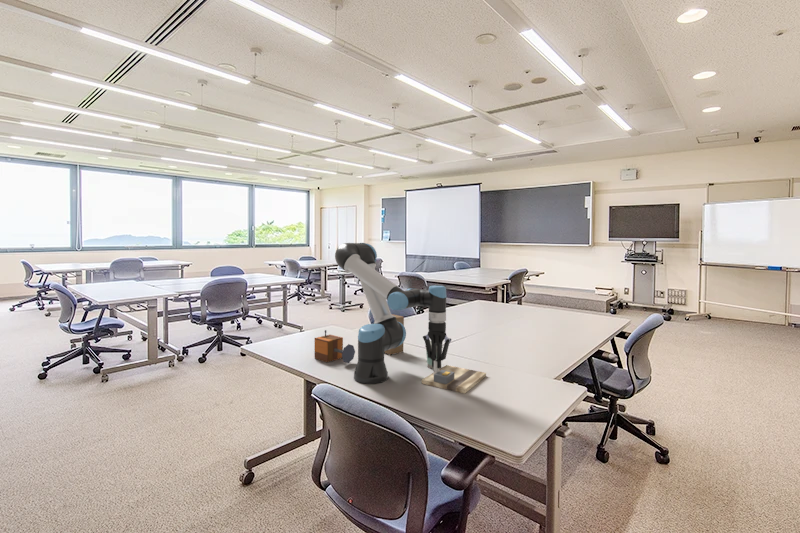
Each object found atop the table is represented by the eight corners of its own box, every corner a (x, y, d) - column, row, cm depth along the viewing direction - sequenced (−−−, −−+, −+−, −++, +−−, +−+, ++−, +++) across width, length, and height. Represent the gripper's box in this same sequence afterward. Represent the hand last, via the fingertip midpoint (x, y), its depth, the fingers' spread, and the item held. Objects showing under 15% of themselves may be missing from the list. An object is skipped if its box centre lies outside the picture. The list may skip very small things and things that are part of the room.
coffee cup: (445, 367, 190) (446, 343, 190) (435, 371, 184) (435, 346, 183) (432, 363, 196) (432, 339, 195) (421, 367, 190) (421, 342, 189)
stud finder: (433, 381, 165) (433, 373, 165) (441, 376, 172) (442, 368, 172) (446, 384, 162) (446, 376, 162) (454, 378, 169) (454, 371, 169)
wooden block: (391, 348, 223) (392, 313, 222) (403, 352, 216) (404, 316, 214) (378, 351, 216) (378, 315, 215) (390, 355, 209) (390, 318, 208)
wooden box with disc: (340, 366, 189) (340, 337, 188) (314, 358, 201) (314, 331, 200) (356, 361, 197) (356, 334, 196) (330, 354, 209) (330, 328, 209)
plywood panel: (421, 383, 167) (421, 379, 167) (446, 368, 189) (446, 364, 189) (464, 393, 157) (464, 389, 157) (486, 376, 178) (486, 372, 178)
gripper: (419, 321, 168) (419, 374, 169) (447, 324, 161) (446, 380, 162) (427, 318, 174) (427, 370, 176) (454, 321, 168) (453, 375, 169)
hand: (436, 374), depth 169 cm, fingers closed
